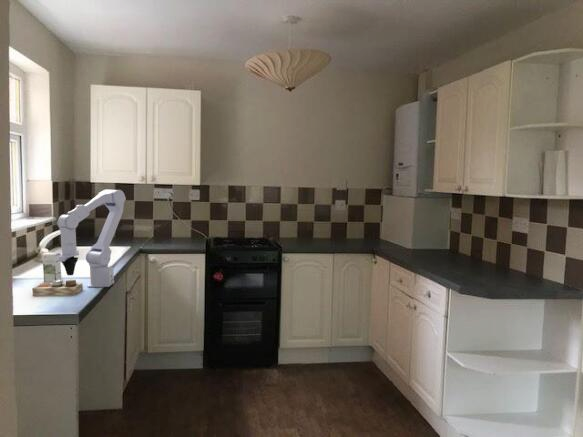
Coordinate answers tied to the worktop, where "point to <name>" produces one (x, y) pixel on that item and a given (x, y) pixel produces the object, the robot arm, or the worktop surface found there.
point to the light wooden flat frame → (57, 290)
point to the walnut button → (70, 283)
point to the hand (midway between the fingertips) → (70, 275)
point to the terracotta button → (44, 285)
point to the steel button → (57, 283)
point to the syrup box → (51, 266)
